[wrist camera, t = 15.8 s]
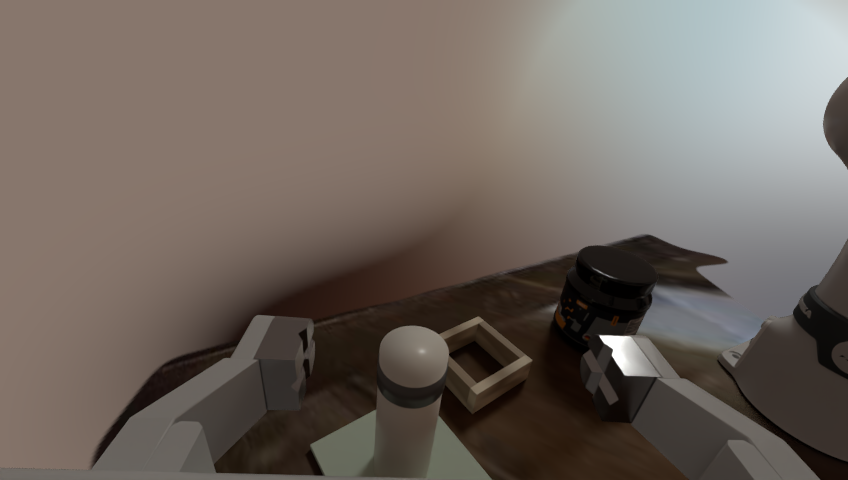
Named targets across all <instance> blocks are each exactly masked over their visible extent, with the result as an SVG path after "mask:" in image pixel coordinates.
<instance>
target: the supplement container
mask: <svg viewBox="0 0 848 480" xmlns="http://www.w3.org/2000/svg"><path fill="white" fill-rule="evenodd" d="M657 280H658V274H657V272H656V270H655V269H654V268H653V267H652V266H651V265H650V264H649V263H648V262H646V261H645V260H643V259H642V258H640V257H638V256H636V255H634V254H632V253H629V252H627V251H624V250H621V249H617V248H613V247H608V246H598V245H597V246H588V247H585V248H583V249H581V250H580V251H579V253H578V256H577V259H576V262H575V266H573V267H572V268H570V270H569V271H568V273H567V276H566V282H565V285H564V288H563V291H562V294H561V297H560V300H559V303H558V306H557V309H556V310H555V313H554V317H553V321H554V326H555V328H556V330H557V332H558V333H559V335H560V336H561V337H562V338H563V339H564V340H565V341H566V342H567V343H569V344H570V345H571V346H573V347H574V348H576V349H578V350H580V351H582V352H584V353H586V352H588V351H589V350H590V348H589V346H588V341H589V339H590V337H591V336H592V335H593V334H607V335H625V336H626V335H636V332H637V330H638V328H639V326H640V324H641V322H642V320H643V318H644V316H645V314H646V312H647V310H648V309H649V308H650V306H651V304H652V294H651V292H652V291H653V289H654V287H655V285H656V283H657Z"/></svg>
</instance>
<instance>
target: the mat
mask: <svg viewBox="0 0 848 480" xmlns="http://www.w3.org/2000/svg"><path fill="white" fill-rule="evenodd" d="M375 427H376V410H374V411H373V412H371V413H369V414H367V415H365V416H363V417H361V418H360V419H358V420H356V421H354V422H352V423H350V424H348V425H346V426H345V427H343V428H341V429H339V430H337V431H335V432H333V433H331V434H330V435H328V436H326V437H324V438H322V439H320V440H318V441H317V442H315V443H313V444H311V445H310V448H311V451H312V453H313V455H314V457H315V459H316V461H317V463H318V465H319V467H320V470H321V472H322V474H323V476H351V477H376V476H375V473H374V467H373V463H374V445H375ZM426 478H431V479H469V480H492V479H491V478H490V477H489V476H488V475H487V473H486V472H485V471H484V470H483V469H482V467H481V466H480V465H479V464H478V462H477V461H476V460H475V459H474V458H473V456H472V455H471V454H470V453H469V452H468V450H467V449H466V448H465V447H464V446H463V444H462V443H461V442H460V441H459V440H458V438H457V437H456V436H455V435H454V434H453V432H452V431H451V430H450V429H449V427H448V426H447V425H446V424H445V423H444V421H443V420H442V419H441V418H440V417H439V415H438V420H437V425H436V431H435V436H434V442H433V448H432V453H431V459H430V465H429V470H428V474H427V477H426Z"/></svg>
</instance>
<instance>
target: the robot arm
mask: <svg viewBox="0 0 848 480" xmlns="http://www.w3.org/2000/svg"><path fill="white" fill-rule="evenodd" d="M823 127H824V133H825V137H826V140H827V142H828V144H829V146H830V147H831V149H832V150H833V151H834V152H835V153H836V154H837V155H838V156H839V157H840V159H841V160H842V161H843V163H844V164H845V166H846V167H847V169H848V77H847V78H846V79H845V80H844V81H843V82H842V84H840V86H839V87H838V88H837V90H836V91H835V93H834V94H833V95H832V97H831V99H830V101H829V103H828V105H827V107H826V110H825V114H824V121H823ZM313 331H314V327H313V320H312V319H307V318H294V317H293V318H292V317H281V316H276V317H275V316H263V315H257V316H256V317H255V318H253V320H252V322H251V323H250V325H249V327H248V329H247V330H246V332H245V334H244V336H243V337H242V339H241V341H240V343H239V344H238V346H237V348H236V350H235V351H234V353H233V355H232V357H231V358H224V359H223V360H221V361H219V362H218V363H216V364H215V365H213V366H211V367H210V368H208V369H207V370H205V371H203V372H202V373H200V374H199V375H197V376H196V377H194V378H192V379H191V380H189V381H188V382H186V383H184V384H183V385H181V386H180V387H178V388H177V389H175V390H173V391H172V392H170V393H169V394H167V395H165V396H164V397H162V398H161V399H159V400H157V401H156V402H154V403H153V404H151V405H150V406H148V407H146V408H145V409H143V410H142V411H140V412H138V413H137V414H135V415H134V416H132V417H130V419H129V420H128V421H127V423H126V424H125V425H124V427H123V428H122V429H121V431H120V432H119V433H118V435H117V436H116V437H115V439H114V440H113V441H112V443H111V444H110V445H109V447H108V448H107V449H106V451H105V452H104V453H103V455H102V456H101V457H100V459H99V460H98V461H97V463H96V464H95V465H94V467H93V468H92V469H91V470H68V469H67V470H66V469H27V468H0V480H469V479H431V478H391V477H351V476H311V475H271V474H230V473H216V472H215V468H214V465H213V464H214V463H215V462H216V461H217V460H218V459H219V458H220V457H221V456H222V455H223V454H224V453H225V452H226V451H227V450H228V449H229V448H230V447H231V446H232V445H233V444H235V443H236V442H237V441H238V440H239V439H240V438H241V437H242V436H243V435H244V434H245V433H246V432H247V431H248V430H249V429H250V428H251V427H252V426H253V425H254V424H255V423H256V422H257V421H258V420H259V419H260V418H261V417H262V416H263V415H264V414H265V413H266V412H267V410H300V408H301V404H302V401H303V398H304V395H305V391H306V379H307V378H308V377H309V376H310V375H311V371H312V368H313V362H314V356H315V342H314V341H313V340H312V339H311V337H312V334H313ZM588 346H589V348H590V350H589V351H588V352H586V353H585V354H584V355H583V356H582V359H581V362H580V375H581V379H582V382H583V384H584V386H585V388H587V389H588V390H589V391H590V392H591V393H593V394H594V395H593V398H592V402H593V404H594V406H595V408H596V410H597V412H598V414H599V416H600V418H601V420H602V421H607V422H622V423H632V424H631V425H632V426H633V427H634V428H635V429H636V430H637V431H639V432H640V433H641V434H642V435H643V436H644V437H645V438H646V439H647V440H648V441H649V442H650V443H651V444H652V445H653V446H654V447H655V448H657V449H658V450H659V451H660V452H661V453H662V454H663V455H664V456H665V457H666V458H667V459H668V460H669V461H670V462H671V463H672V464H673V465H674V466H676V467H677V468H678V469H679V470H680V471H681V472H682V473H683V474H684V475H685V476H686V477H687V478H688V479H689V480H820V479H819V478H818V477H817V476H816V475H815V473H814V472H813V471H812V470H811V469H810V468H809V467H808V466H807V465H806V464H805V463H804V462H803V460H802V459H801V458H800V457H799V456H798V455H797V454H796V453H795V452H794V451H793V450H792V449H791V447H790V446H789V445H788V444H787V443H786V442H785V441H784V440H782V439H781V438H779V437H778V436H776V435H774V434H773V433H771V432H770V431H768V430H766V429H765V428H763V427H762V426H760V425H758V424H757V423H755V422H754V421H752V420H750V419H749V418H747V417H746V416H744V415H742V414H741V413H739V412H738V411H736V410H734V409H733V408H731V407H730V406H728V405H726V404H725V403H723V402H722V401H720V400H718V399H717V398H715V397H714V396H712V395H711V394H709V393H707V392H706V391H704V390H703V389H701V388H699V387H698V386H696V385H695V384H693V383H691V382H690V381H688V380H687V379H680V377H679V376H678V375H677V374H676V372H675V371H674V370H673V369H672V367H671V366H670V365H669V364H668V362H667V361H666V360H665V359H664V357H663V356H662V355H661V353H660V352H659V351H658V350H657V348H656V347H655V346H654V345H653V343H652V342H651V341H650V340H649V339H648V338H647V337H645V336H638V335H626V336H625V335H607V334H593V335H592V336H591V337H590V339H589V341H588ZM718 360H719V362H720V363H721V364H722V365H723V366H724V367H725V368H726V369H727V370H728V371H729V372H730V373H731V374H732V375H733V377H734V378H735V380H736V382H737V384H738V386H739V388H740V389H741V391H742V392H743V394H744V395H745V396H746V397H747V399H748V400H749V401H750V402H751V403H752V404H753V405H754V406H755V407H756V408H757V409H758V410H759V411H760V412H761V413H762V414H763V415H765V416H766V417H767V418H768V419H769V420H771V421H772V422H773V423H775V424H776V425H777V426H779V427H780V428H782V429H783V430H784V431H786V432H787V433H789V434H791V435H792V436H794V437H795V438H797V439H799V440H800V441H802V442H804V443H806V444H807V445H809V446H811V447H813V448H815V449H817V450H819V451H821V452H824V453H826V454H828V455H830V456H833V457H835V458H838V459H841V460H844V461H847V462H848V240H847V241H846V243H845V245H844V247H843V248H842V250H841V252H840V254H839V255H838V257H837V259H836V260H835V262H834V263H833V265H832V266H831V268H830V269H829V271H828V273H827V274H826V275H825V277H824V278H823V280H822V281H821V283H820V284H819V285H816V286H813V287H811V288H810V289H809V291H808V292H807V293H805V294H804V295H803V296H802V297H801V299H800V300H799V303H798V305H797V306H796V308H795V309H794V311H793V314H792V315H790V316H786V317H780V318H777V317H775V316H770V317H769V318H768V319H767V320H765V321H764V322H763V324H762V325H761V329H760V331H759V332H758V334H757V335H756V336H755V337H754V338H752V339H751V340H749V341H747V342H744V343H742V344H740V345H737V346H735V347H733V348H731V349H728V350H726V351H724V352H722V353H721V354H720V355H719V357H718Z"/></svg>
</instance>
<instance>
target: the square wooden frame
mask: <svg viewBox="0 0 848 480" xmlns="http://www.w3.org/2000/svg"><path fill="white" fill-rule="evenodd" d="M439 335H440V336H441V337H442V338H443V339H444V341H445V342H446V344H447V346H448V350H449V353H451V352H453V351H455V350H457V349H459V348H461V347H463V346H465V345H467V344H469V343H471V342H473V341H475V342H477V343H478V344H479V345H480V346H481V347H482V348H483V349H484V350H486V351H487V352H488V353H489V354H490V355H491V356H492V357H493V358H495V359H496V360H497V361H498V362H499V363H500V364H501V365H502V366H503V367H505V368H503V369H501V370H500V371H498V372H496V373H495V374H493V375H491V376H490V377H488V378H486V379H485V380H483V381H481V382H479V383H478V384H477V383H476V382H475V381H474V380H473V379H472V378H471V377H470V376H469V375H468V374H467V373H466V372H465V371H464V370H463V369H462V368H461V367H460V366H459V365H458V364H457V363H456V362H455V361H454V360H453V359H452V358H451V357H450V356H449V358H448V362H449V363H448V371H447V377H446V382H445V385H446V386H447V387H448V388H449V389H450V390H451V392H452V393H453V394H454V395H455V396H456V397H457V398H458V399H459V400H460V401H461V402H462V404H463V405H464V406H465V407H466V408H467V409H468V410H469V411H470V412H471V413H472V414H473V413H475V412H476V411H478V410H479V409H481V408H482V407H484V406H485V405H487V404H488V403H490V402H492V401H493V400H495V399H496V398H498V397H499V396H501V395H502V394H504V393H505V392H507V391H508V390H510V389H511V388H513V387H515V386H516V385H518V384H519V383H521V382H522V381H524V380H525V379H527V376H528V373H529V370H530V366H531V363H532V360H531V359H530V358H529V357H528V356H526V355H525V354H524V353H523V352H522V351H520V350H519V349H518V348H517V347H515V346H514V345H513V344H512V343H511V342H509V341H508V340H507V339H506V338H504V337H503V336H502V335H501V334H500V333H498V332H497V331H496V330H495V329H493V328H492V327H491V326H490V325H489V324H487V323H486V322H485V321H484V320H482V319H481V318H480V317H479V316H478V317H476V318H474V319H472V320H470V321H467V322H465V323H463V324H461V325H459V326H456V327H454V328H452V329H450V330H448V331H445V332H443V333H441V334H439Z"/></svg>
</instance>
